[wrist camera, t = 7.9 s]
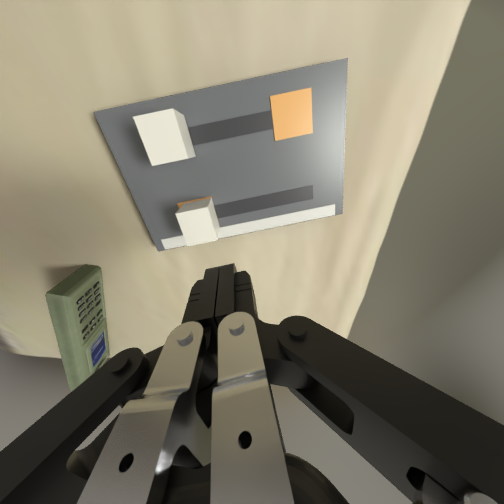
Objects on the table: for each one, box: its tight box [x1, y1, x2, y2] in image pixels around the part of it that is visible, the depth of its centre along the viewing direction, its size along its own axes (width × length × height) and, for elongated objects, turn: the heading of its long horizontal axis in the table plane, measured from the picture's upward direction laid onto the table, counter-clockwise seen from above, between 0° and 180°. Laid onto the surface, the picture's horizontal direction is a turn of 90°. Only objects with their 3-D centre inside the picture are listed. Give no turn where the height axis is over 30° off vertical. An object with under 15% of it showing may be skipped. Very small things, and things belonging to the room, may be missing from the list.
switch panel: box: [94, 58, 348, 251], centre depth 23 cm, size 15×24×2 cm, turn 100°
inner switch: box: [133, 108, 196, 166], centre depth 18 cm, size 4×3×4 cm
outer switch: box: [175, 198, 220, 246], centre depth 22 cm, size 4×3×4 cm
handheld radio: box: [45, 264, 110, 391], centre depth 31 cm, size 7×3×25 cm
